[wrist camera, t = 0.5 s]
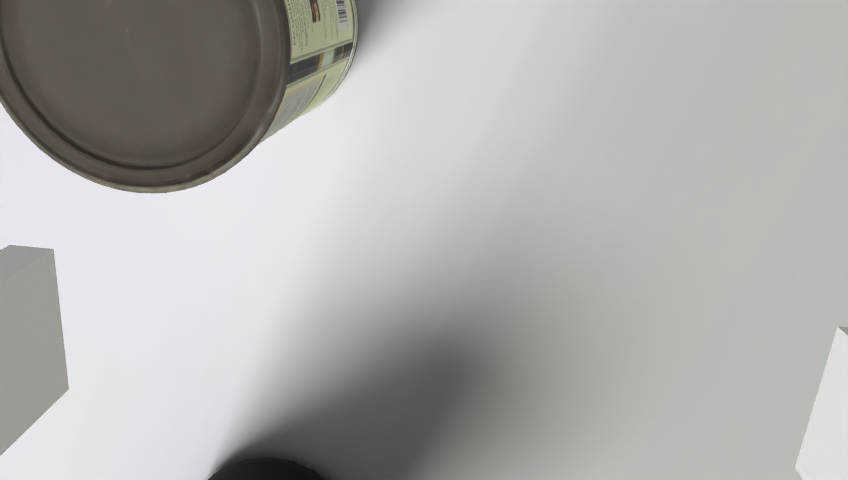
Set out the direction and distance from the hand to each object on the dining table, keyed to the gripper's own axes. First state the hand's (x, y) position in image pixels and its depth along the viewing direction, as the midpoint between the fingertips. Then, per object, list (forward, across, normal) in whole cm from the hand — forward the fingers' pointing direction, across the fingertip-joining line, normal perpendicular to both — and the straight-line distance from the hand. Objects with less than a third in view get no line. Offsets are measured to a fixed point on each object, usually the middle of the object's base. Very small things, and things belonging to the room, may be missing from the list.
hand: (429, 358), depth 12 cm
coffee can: (+26, -11, +4) cm, 28 cm away
